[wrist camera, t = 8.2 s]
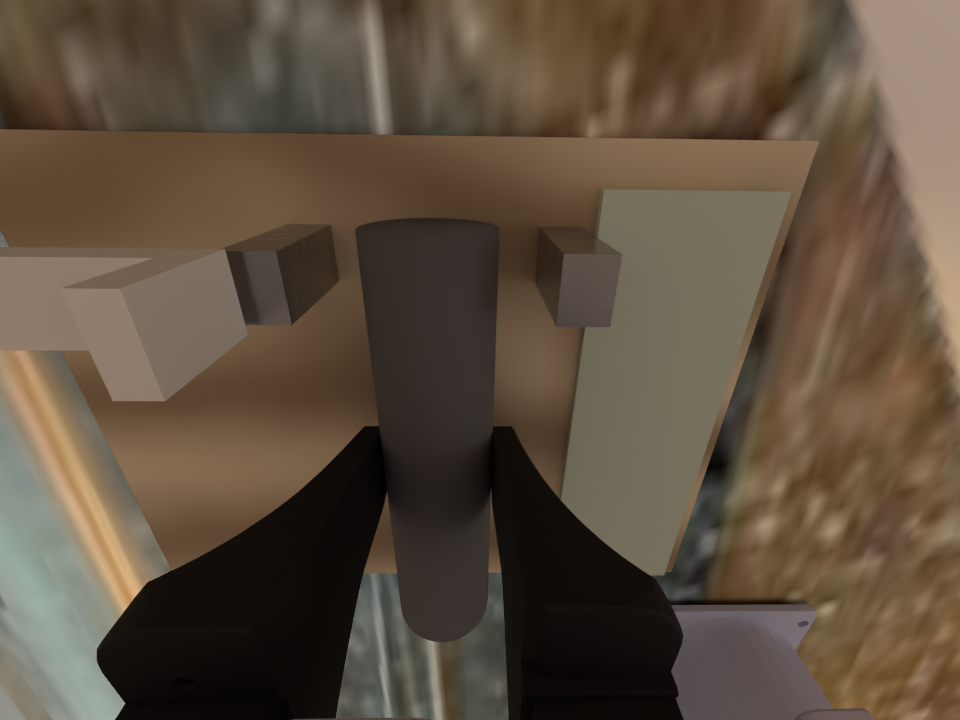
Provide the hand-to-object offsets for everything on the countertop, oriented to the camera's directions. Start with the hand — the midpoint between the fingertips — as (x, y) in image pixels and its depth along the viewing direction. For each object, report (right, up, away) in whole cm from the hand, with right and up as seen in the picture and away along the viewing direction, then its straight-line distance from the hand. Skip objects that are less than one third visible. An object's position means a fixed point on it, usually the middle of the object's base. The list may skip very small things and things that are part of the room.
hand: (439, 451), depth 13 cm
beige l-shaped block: (-8, +4, -5) cm, 11 cm away
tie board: (-1, +1, +2) cm, 2 cm away
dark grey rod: (0, +1, +1) cm, 1 cm away
